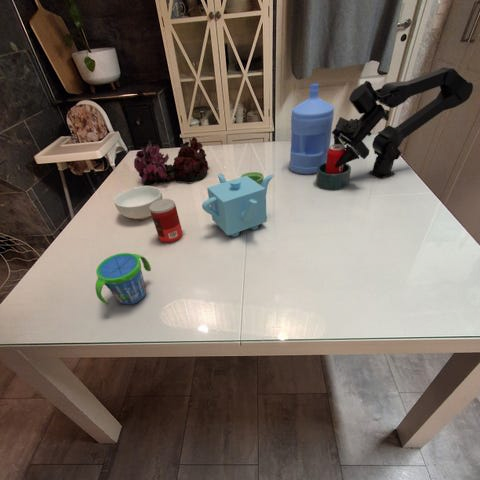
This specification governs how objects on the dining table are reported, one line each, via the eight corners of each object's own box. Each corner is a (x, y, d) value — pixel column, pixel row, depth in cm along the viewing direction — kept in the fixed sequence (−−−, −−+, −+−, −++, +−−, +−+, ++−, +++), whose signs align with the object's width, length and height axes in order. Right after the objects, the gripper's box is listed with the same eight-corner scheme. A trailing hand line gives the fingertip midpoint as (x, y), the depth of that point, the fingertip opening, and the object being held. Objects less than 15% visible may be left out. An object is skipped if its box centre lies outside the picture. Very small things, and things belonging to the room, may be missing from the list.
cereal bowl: (175, 211, 110) (170, 192, 104) (137, 231, 102) (130, 211, 97) (148, 199, 118) (143, 181, 113) (112, 216, 111) (104, 198, 106)
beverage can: (344, 180, 113) (350, 145, 104) (333, 186, 110) (338, 151, 102) (331, 176, 116) (336, 142, 107) (320, 181, 114) (324, 147, 105)
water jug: (300, 158, 133) (304, 78, 112) (333, 163, 126) (344, 79, 105) (282, 171, 125) (284, 88, 104) (317, 177, 118) (325, 90, 97)
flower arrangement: (207, 163, 138) (201, 126, 127) (212, 181, 125) (206, 141, 114) (140, 175, 136) (128, 138, 125) (138, 193, 123) (124, 154, 112)
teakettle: (204, 238, 95) (195, 193, 84) (223, 209, 107) (217, 166, 96) (261, 244, 91) (259, 197, 80) (274, 213, 102) (274, 168, 91)
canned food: (187, 231, 99) (179, 199, 91) (176, 244, 94) (166, 212, 86) (166, 229, 101) (157, 197, 93) (155, 242, 96) (144, 210, 88)
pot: (335, 173, 119) (337, 159, 115) (355, 184, 111) (358, 169, 107) (309, 181, 116) (311, 166, 112) (328, 193, 109) (330, 177, 105)
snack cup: (119, 322, 73) (101, 291, 66) (96, 304, 78) (77, 274, 71) (167, 287, 81) (156, 256, 73) (143, 273, 86) (131, 243, 78)
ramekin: (268, 187, 116) (268, 175, 113) (250, 195, 113) (250, 183, 109) (254, 180, 121) (253, 169, 118) (236, 188, 118) (235, 177, 115)
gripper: (340, 100, 103) (308, 141, 110) (368, 113, 90) (329, 158, 97) (357, 122, 109) (325, 160, 116) (385, 137, 97) (348, 178, 104)
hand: (331, 163), depth 108 cm, fingers closed on beverage can, 6 cm apart
